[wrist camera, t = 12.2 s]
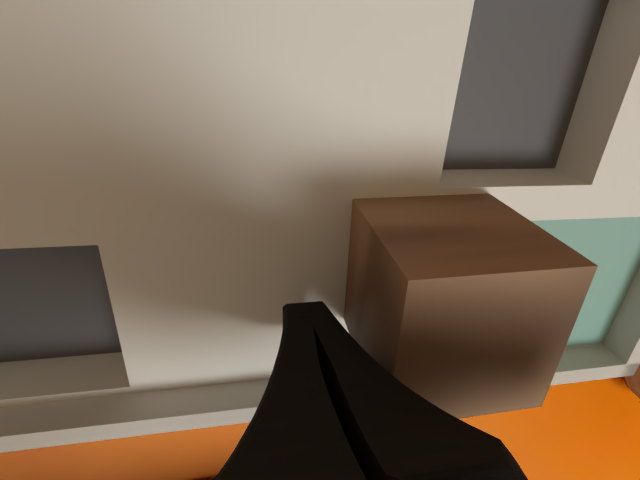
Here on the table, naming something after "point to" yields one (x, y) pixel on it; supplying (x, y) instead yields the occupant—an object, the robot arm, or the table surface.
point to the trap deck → (280, 182)
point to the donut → (634, 382)
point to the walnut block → (462, 299)
